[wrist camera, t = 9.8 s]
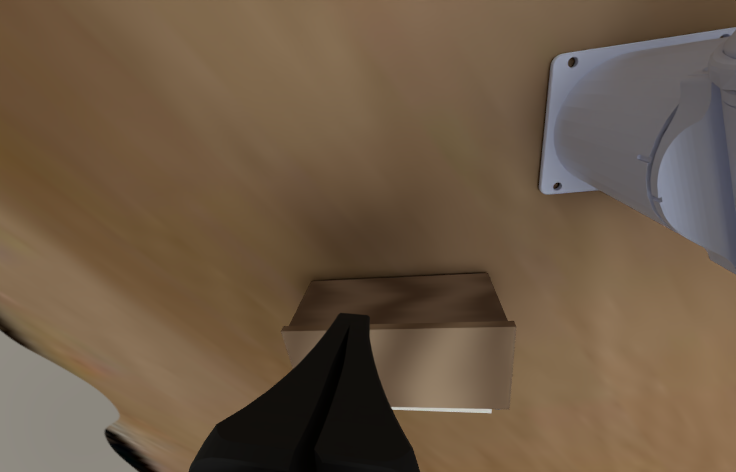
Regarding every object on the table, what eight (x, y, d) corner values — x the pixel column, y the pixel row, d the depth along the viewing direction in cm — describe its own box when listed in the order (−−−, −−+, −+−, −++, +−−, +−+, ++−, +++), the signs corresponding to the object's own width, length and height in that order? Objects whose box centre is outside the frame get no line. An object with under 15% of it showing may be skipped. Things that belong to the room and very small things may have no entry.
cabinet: (492, 271, 24) (516, 326, 18) (489, 343, 26) (509, 409, 21) (307, 280, 26) (280, 331, 21) (324, 345, 29) (304, 405, 24)
